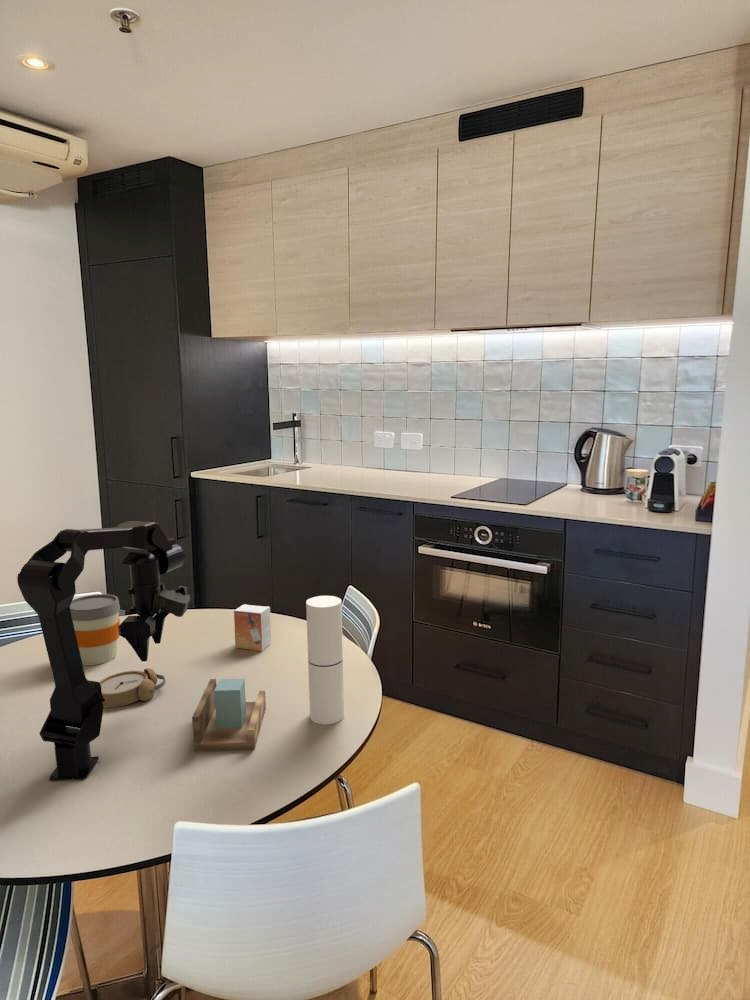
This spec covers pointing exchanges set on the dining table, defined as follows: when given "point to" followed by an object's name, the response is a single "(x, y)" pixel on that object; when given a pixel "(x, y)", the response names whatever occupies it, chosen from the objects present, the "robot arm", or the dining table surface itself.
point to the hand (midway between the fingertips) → (151, 651)
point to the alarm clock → (130, 687)
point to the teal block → (230, 703)
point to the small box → (252, 627)
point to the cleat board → (225, 738)
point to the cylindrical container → (325, 659)
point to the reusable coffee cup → (96, 627)
